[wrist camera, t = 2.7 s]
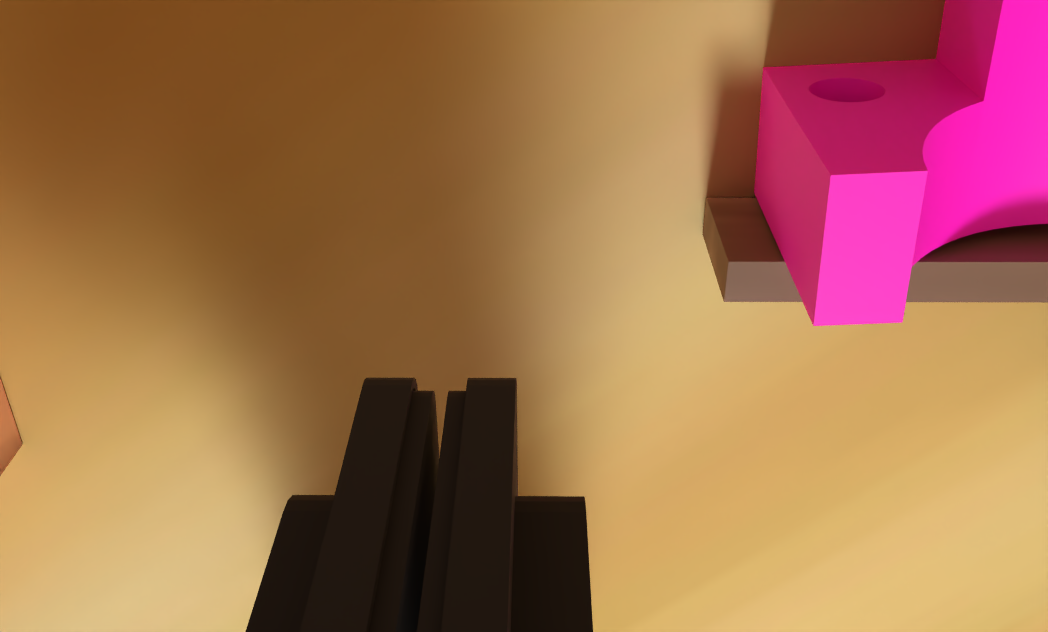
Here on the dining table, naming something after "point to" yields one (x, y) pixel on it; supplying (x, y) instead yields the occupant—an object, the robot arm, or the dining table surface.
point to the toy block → (904, 157)
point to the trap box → (940, 276)
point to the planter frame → (7, 432)
